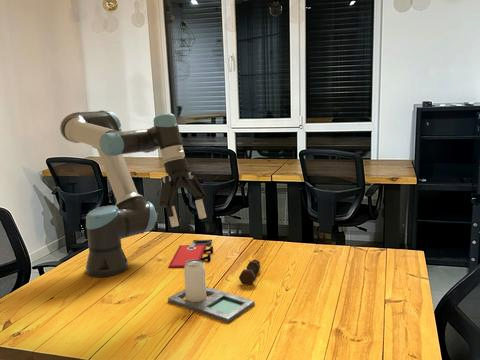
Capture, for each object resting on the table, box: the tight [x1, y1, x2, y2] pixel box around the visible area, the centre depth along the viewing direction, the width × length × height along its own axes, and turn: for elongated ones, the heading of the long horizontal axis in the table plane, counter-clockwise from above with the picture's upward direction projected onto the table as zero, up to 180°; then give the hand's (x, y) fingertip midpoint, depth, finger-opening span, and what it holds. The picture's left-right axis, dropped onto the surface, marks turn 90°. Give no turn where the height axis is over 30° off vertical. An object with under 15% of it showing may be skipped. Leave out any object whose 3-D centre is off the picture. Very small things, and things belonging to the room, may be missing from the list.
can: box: [183, 259, 207, 303], centre depth 139 cm, size 6×6×12 cm
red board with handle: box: [167, 239, 214, 269], centre depth 180 cm, size 30×3×15 cm
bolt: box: [238, 259, 261, 286], centre depth 156 cm, size 6×5×15 cm
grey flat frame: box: [167, 286, 256, 324], centre depth 137 cm, size 24×13×1 cm, turn 53°
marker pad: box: [210, 299, 241, 314], centre depth 133 cm, size 8×8×1 cm
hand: (189, 222), depth 147 cm, fingers open, 13 cm apart
